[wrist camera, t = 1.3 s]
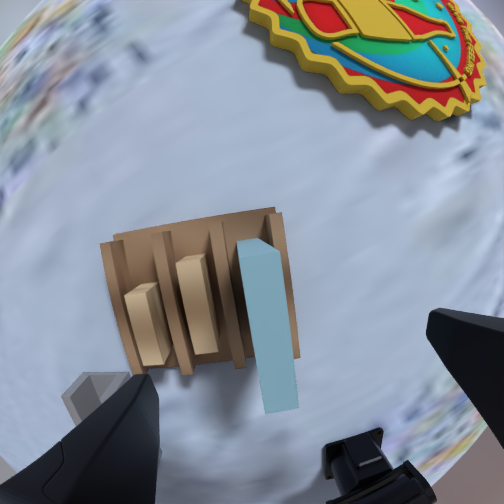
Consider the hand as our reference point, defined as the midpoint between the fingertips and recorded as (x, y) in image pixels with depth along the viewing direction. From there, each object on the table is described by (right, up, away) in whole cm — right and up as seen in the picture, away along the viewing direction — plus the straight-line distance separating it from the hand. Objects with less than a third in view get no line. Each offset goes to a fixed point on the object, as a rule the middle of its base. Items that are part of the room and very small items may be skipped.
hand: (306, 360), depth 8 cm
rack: (-5, 0, +13) cm, 14 cm away
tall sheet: (-1, +1, +13) cm, 13 cm away
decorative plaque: (+12, +30, +12) cm, 34 cm away
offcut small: (-9, -2, +13) cm, 16 cm away
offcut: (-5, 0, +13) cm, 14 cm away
